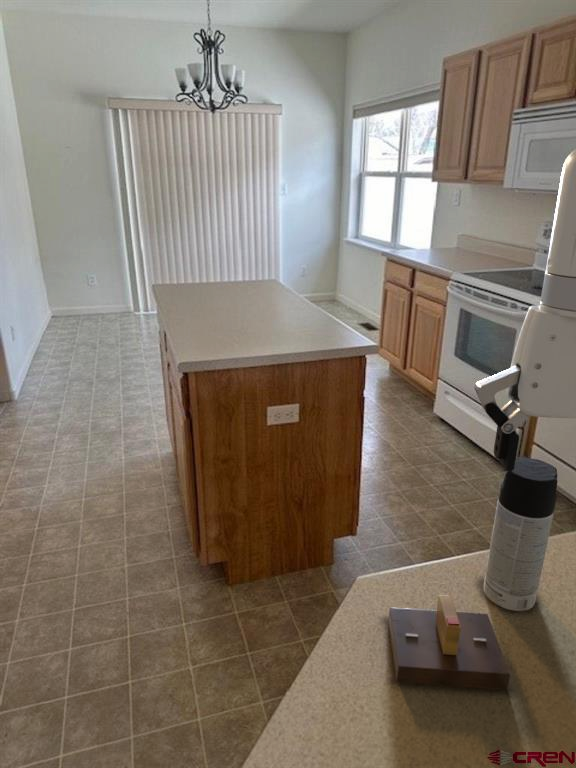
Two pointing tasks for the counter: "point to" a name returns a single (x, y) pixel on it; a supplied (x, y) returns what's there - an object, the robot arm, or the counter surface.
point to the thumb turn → (447, 625)
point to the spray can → (521, 534)
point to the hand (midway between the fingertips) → (554, 467)
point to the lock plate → (430, 666)
